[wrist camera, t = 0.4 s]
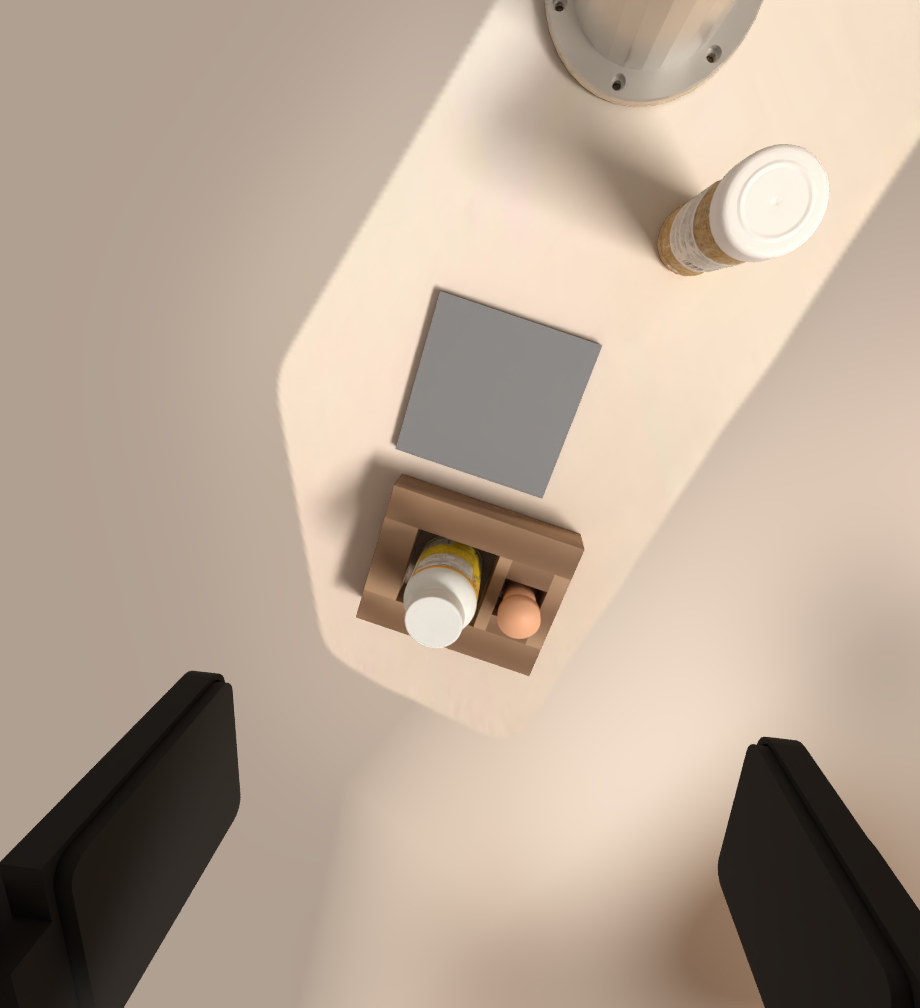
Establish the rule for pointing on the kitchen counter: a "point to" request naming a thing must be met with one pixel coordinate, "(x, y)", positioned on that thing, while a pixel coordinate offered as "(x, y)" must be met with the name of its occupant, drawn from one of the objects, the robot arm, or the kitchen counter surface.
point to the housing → (510, 536)
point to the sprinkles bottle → (748, 213)
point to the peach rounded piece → (518, 611)
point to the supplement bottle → (442, 592)
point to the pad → (495, 394)
